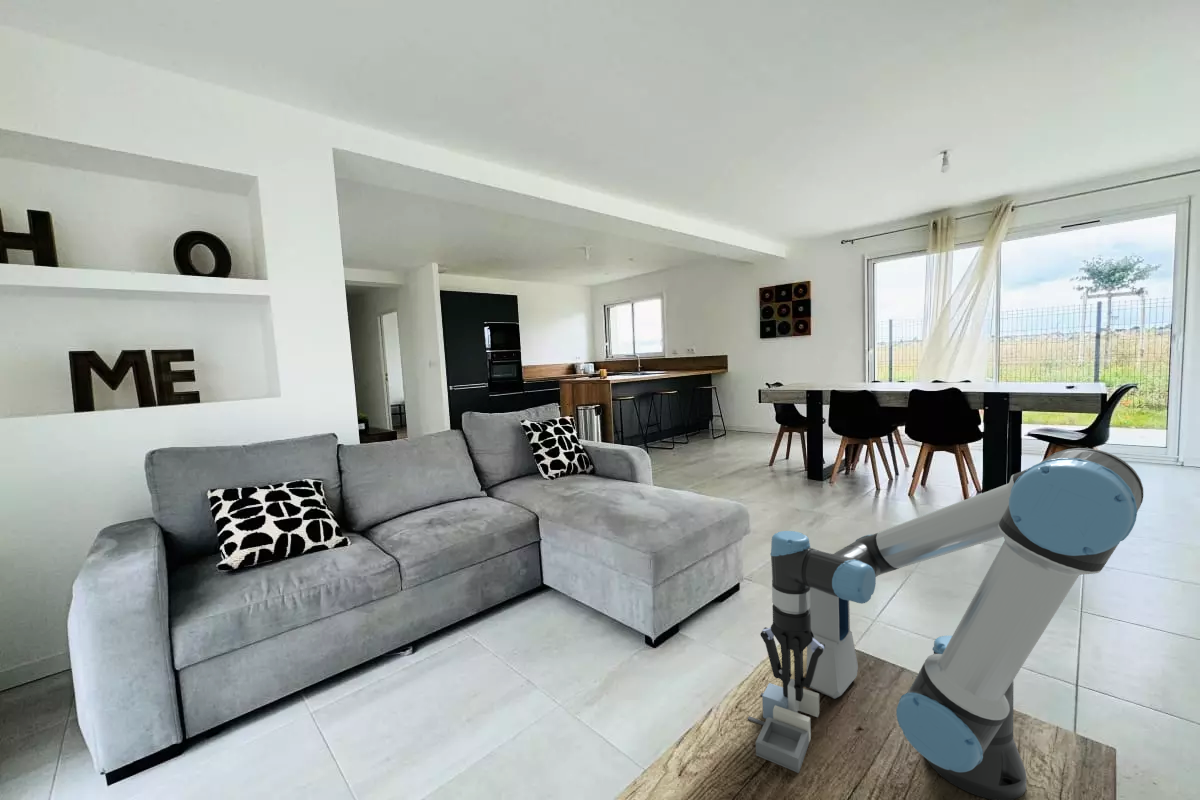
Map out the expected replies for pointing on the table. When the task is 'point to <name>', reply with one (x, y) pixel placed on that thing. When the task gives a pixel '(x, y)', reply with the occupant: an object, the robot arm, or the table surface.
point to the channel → (806, 705)
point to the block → (773, 700)
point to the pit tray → (782, 744)
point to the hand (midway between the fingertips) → (793, 711)
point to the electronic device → (832, 644)
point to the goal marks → (756, 719)
